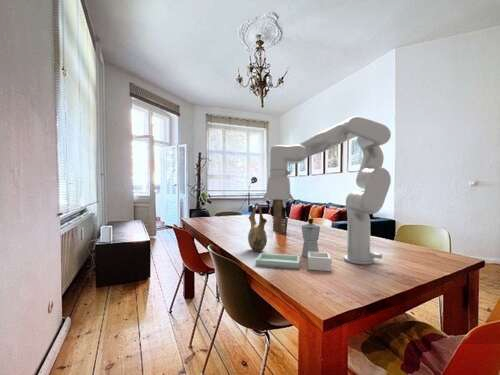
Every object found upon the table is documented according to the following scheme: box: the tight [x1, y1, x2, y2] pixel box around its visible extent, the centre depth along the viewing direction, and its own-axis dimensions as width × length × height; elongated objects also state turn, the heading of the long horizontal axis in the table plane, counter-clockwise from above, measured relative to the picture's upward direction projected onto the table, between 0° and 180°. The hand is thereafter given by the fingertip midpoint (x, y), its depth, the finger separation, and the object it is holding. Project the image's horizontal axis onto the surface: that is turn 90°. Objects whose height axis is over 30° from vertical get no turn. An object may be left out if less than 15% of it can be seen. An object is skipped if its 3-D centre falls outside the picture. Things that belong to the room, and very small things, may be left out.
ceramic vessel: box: [247, 202, 268, 253], centre depth 129 cm, size 16×9×25 cm, turn 27°
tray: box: [255, 252, 301, 270], centre depth 108 cm, size 18×11×2 cm, turn 77°
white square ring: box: [307, 251, 332, 272], centre depth 104 cm, size 9×9×5 cm
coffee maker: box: [301, 218, 321, 259], centre depth 121 cm, size 15×9×18 cm, turn 161°
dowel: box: [272, 199, 283, 233], centre depth 108 cm, size 4×4×14 cm
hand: (277, 215), depth 108 cm, fingers closed on dowel, 4 cm apart
